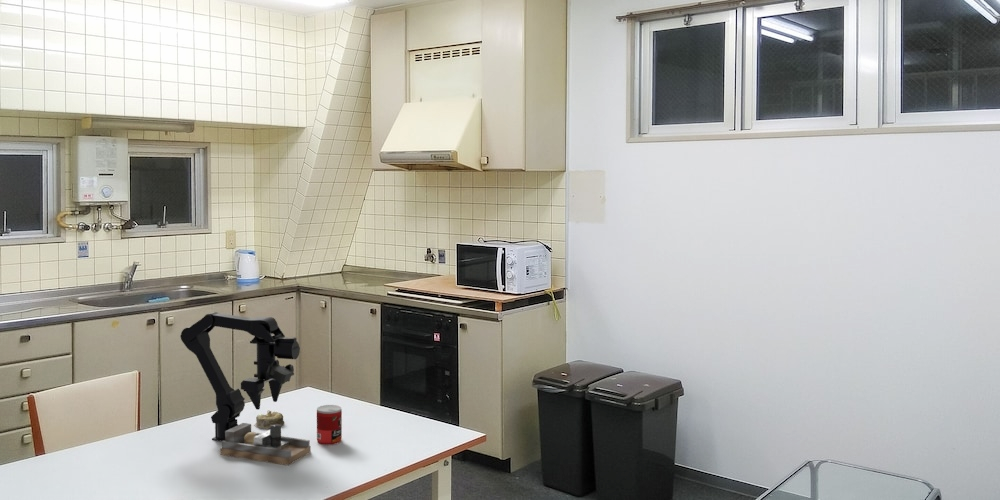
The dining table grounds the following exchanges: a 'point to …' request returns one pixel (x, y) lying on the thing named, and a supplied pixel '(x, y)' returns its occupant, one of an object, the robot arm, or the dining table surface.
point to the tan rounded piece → (249, 438)
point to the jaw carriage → (271, 438)
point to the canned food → (329, 424)
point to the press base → (262, 447)
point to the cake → (269, 420)
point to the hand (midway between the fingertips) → (266, 405)
